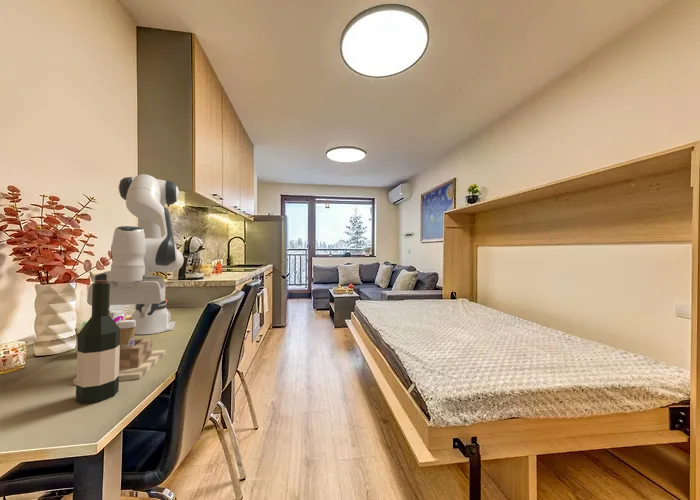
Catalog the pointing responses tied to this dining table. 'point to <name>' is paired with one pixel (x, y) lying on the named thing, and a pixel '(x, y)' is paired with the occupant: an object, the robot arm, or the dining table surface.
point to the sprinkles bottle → (127, 333)
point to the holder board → (138, 370)
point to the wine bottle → (98, 351)
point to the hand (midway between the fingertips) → (126, 318)
